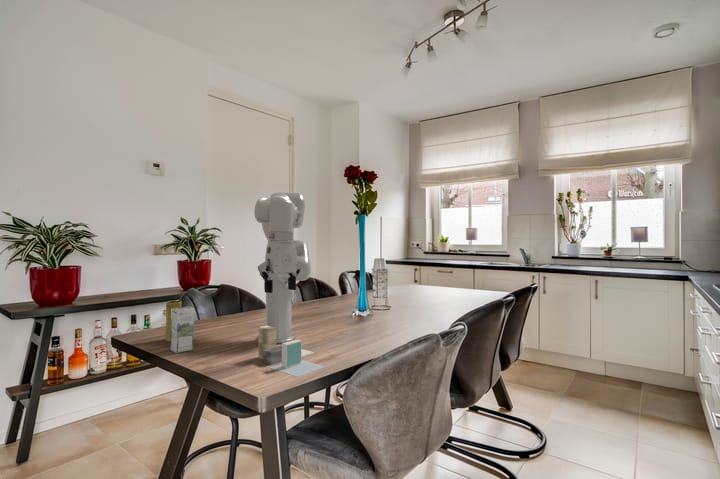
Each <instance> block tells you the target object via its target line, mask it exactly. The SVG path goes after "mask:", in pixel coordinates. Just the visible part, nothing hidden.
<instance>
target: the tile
mask: <svg viewBox="0 0 720 479" xmlns="http://www.w3.org/2000/svg"><path fill="white" fill-rule="evenodd" d="M302 343H303V342H302V340H301V339H295V340H293V341H290V342H286V343H281V345H282V362H281V364H282V368H286V369H287V368H290V367H293V366H296V365H299V364H301V360H302V358H303V357H302V347H303V344H302Z"/></svg>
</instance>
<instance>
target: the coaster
mask: <svg viewBox="0 0 720 479" xmlns="http://www.w3.org/2000/svg"><path fill="white" fill-rule="evenodd" d="M314 354H315V352H314V351H310V350H307V349H302V358H305V357H308V356H311V355H314Z"/></svg>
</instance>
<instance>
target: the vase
mask: <svg viewBox="0 0 720 479" xmlns="http://www.w3.org/2000/svg"><path fill="white" fill-rule="evenodd" d="M165 304H166V305H165V334H164V341H165V342H169V343H171V308H179V307H183V306H182V305H183V302H182V300H168V301H166V303H165Z"/></svg>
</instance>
